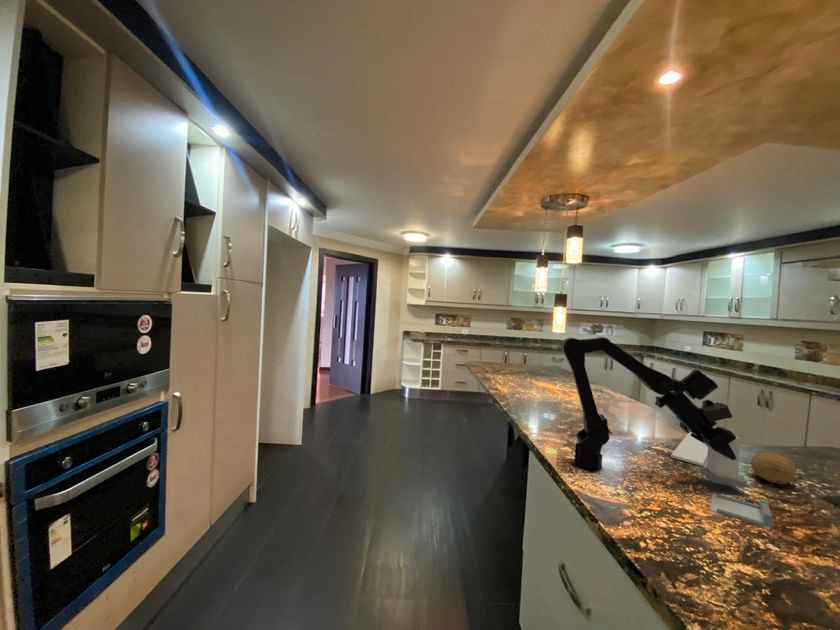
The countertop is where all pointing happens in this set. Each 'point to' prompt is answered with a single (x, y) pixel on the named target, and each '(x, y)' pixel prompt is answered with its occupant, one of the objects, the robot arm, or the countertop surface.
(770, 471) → the potato
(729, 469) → the plug
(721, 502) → the port
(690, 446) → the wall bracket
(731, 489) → the pad
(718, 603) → the countertop surface
